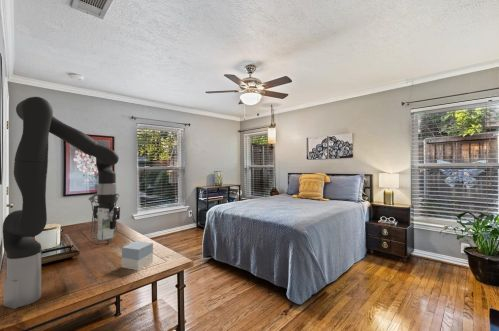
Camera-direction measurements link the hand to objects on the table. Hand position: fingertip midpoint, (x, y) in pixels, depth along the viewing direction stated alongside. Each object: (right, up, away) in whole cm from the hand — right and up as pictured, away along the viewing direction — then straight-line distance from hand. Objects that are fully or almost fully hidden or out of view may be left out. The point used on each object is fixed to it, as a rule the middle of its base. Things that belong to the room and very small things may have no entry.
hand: (106, 228), depth 112 cm
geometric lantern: (-26, -20, +42) cm, 53 cm away
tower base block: (+11, -21, +8) cm, 25 cm away
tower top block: (+11, -16, +8) cm, 21 cm away
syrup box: (0, -5, 0) cm, 5 cm away
